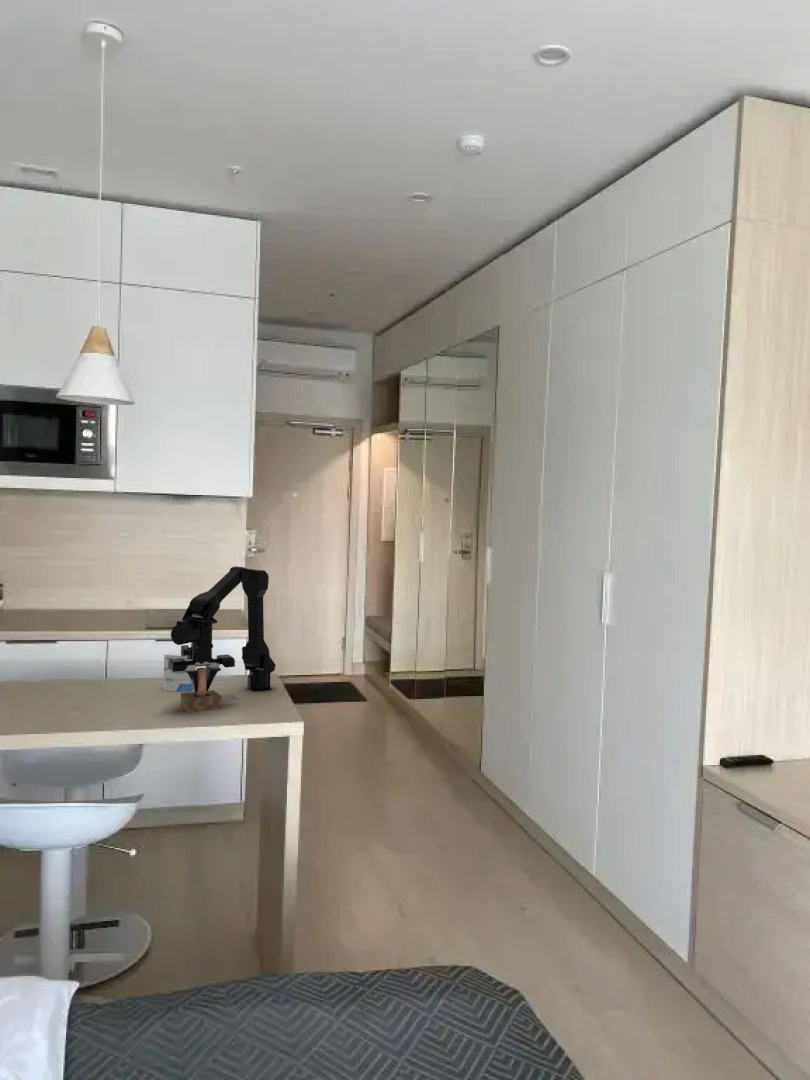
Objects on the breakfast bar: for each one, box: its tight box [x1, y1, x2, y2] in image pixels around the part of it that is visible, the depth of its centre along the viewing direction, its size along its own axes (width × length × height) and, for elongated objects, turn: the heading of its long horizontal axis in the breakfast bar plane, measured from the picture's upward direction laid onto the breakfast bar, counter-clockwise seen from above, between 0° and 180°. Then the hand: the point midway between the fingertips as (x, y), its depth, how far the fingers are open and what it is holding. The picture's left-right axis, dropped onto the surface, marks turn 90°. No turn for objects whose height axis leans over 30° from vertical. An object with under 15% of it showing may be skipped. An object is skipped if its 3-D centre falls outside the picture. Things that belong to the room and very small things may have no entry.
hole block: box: [180, 689, 223, 713], centre depth 250 cm, size 10×8×4 cm
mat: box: [220, 693, 241, 703], centre depth 261 cm, size 8×8×1 cm
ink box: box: [163, 651, 194, 692], centre depth 269 cm, size 8×5×12 cm, turn 84°
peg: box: [196, 667, 207, 697], centre depth 249 cm, size 3×3×9 cm
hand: (201, 691), depth 249 cm, fingers closed on peg, 3 cm apart
